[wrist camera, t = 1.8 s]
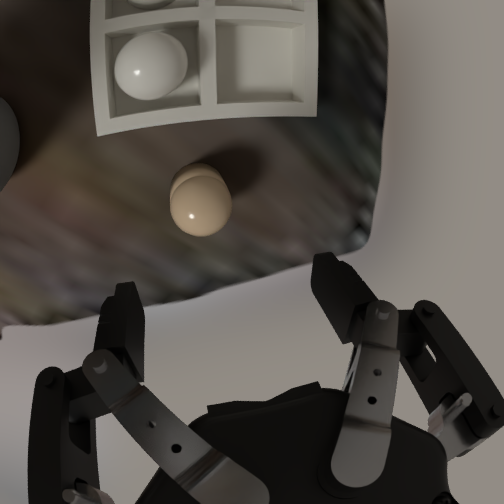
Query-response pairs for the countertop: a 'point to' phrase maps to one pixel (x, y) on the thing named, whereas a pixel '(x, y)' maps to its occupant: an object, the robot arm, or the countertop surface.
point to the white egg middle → (149, 4)
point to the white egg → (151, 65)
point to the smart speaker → (8, 142)
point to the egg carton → (210, 60)
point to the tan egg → (199, 200)
